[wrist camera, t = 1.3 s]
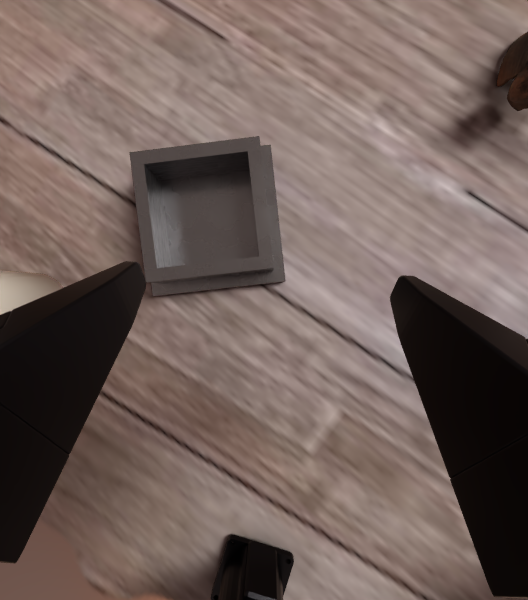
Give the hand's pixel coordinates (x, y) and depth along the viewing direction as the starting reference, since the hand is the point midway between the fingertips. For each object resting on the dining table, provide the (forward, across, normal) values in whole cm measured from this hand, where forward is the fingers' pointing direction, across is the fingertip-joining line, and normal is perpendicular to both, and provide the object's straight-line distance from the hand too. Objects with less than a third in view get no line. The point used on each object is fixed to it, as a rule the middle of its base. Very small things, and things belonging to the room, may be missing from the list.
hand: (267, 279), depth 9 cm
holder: (+15, +5, +5) cm, 16 cm away
